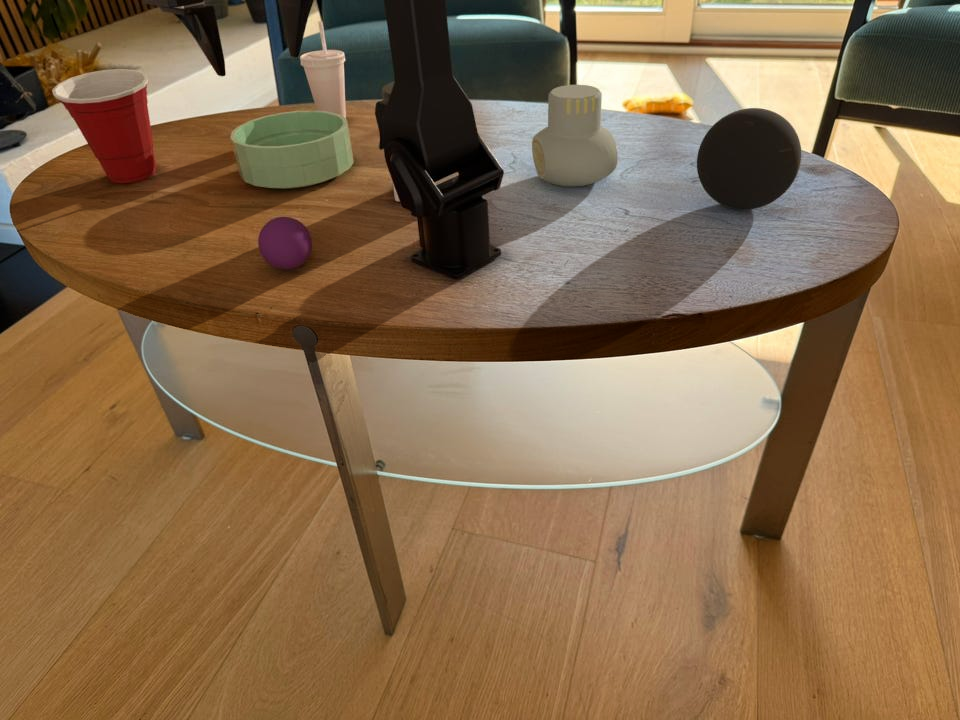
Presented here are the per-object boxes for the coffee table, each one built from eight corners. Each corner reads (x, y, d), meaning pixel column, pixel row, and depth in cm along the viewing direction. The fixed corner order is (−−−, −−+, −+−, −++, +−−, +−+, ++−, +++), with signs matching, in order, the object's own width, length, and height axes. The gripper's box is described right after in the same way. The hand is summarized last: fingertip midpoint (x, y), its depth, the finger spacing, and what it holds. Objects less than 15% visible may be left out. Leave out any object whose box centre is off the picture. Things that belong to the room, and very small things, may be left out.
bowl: (376, 165, 91) (370, 122, 88) (284, 202, 83) (274, 156, 79) (310, 144, 99) (302, 104, 96) (220, 176, 91) (208, 133, 87)
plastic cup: (83, 198, 87) (43, 97, 80) (92, 169, 95) (56, 75, 88) (176, 183, 89) (145, 84, 82) (177, 156, 98) (148, 64, 91)
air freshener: (620, 192, 80) (627, 101, 74) (549, 200, 79) (549, 109, 73) (593, 158, 89) (597, 75, 83) (529, 165, 88) (528, 82, 82)
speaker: (702, 182, 81) (714, 92, 75) (795, 194, 77) (816, 99, 71) (681, 217, 74) (693, 120, 68) (783, 232, 70) (805, 130, 64)
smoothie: (346, 130, 103) (329, 26, 95) (305, 129, 104) (285, 26, 96) (360, 116, 108) (346, 16, 100) (321, 116, 109) (303, 17, 101)
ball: (326, 263, 69) (317, 216, 67) (284, 284, 67) (272, 235, 64) (296, 249, 72) (286, 203, 69) (254, 268, 69) (242, 221, 67)
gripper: (257, -113, 77) (288, 41, 86) (87, -98, 66) (142, 75, 76) (319, -115, 71) (345, 51, 80) (142, -100, 60) (195, 91, 69)
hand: (259, 66), depth 76 cm, fingers open, 9 cm apart
